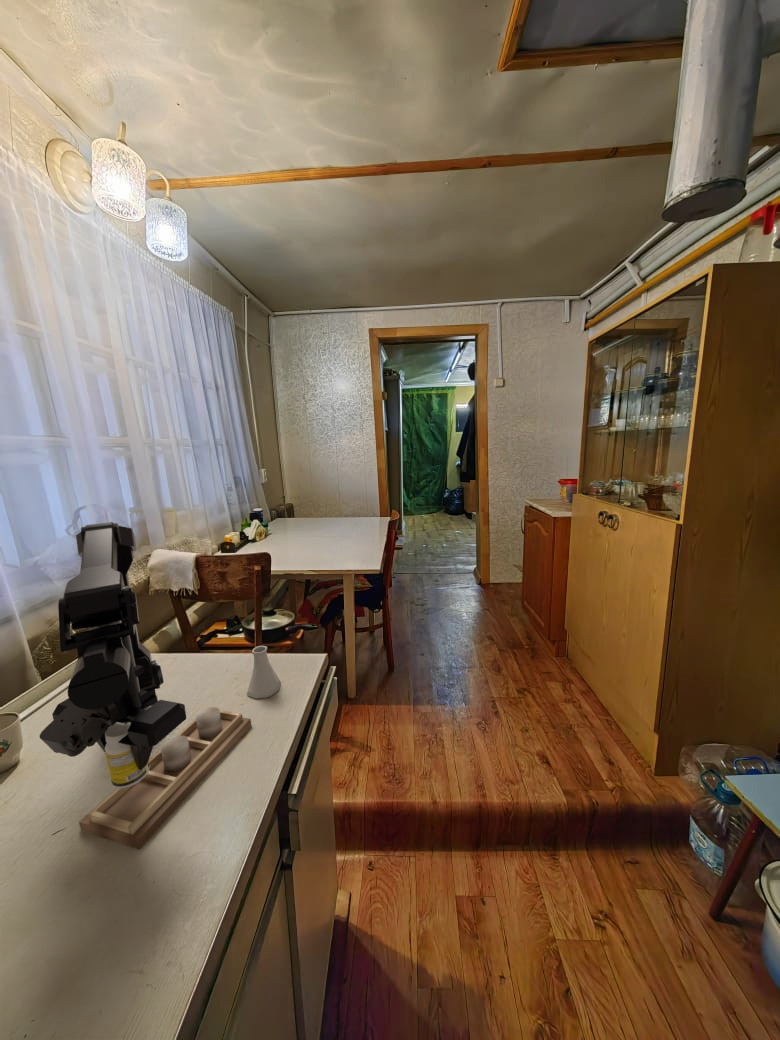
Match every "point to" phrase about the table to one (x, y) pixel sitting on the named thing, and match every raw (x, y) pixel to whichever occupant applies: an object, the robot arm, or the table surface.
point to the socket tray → (166, 779)
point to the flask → (262, 676)
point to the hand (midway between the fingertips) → (129, 764)
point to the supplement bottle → (122, 758)
